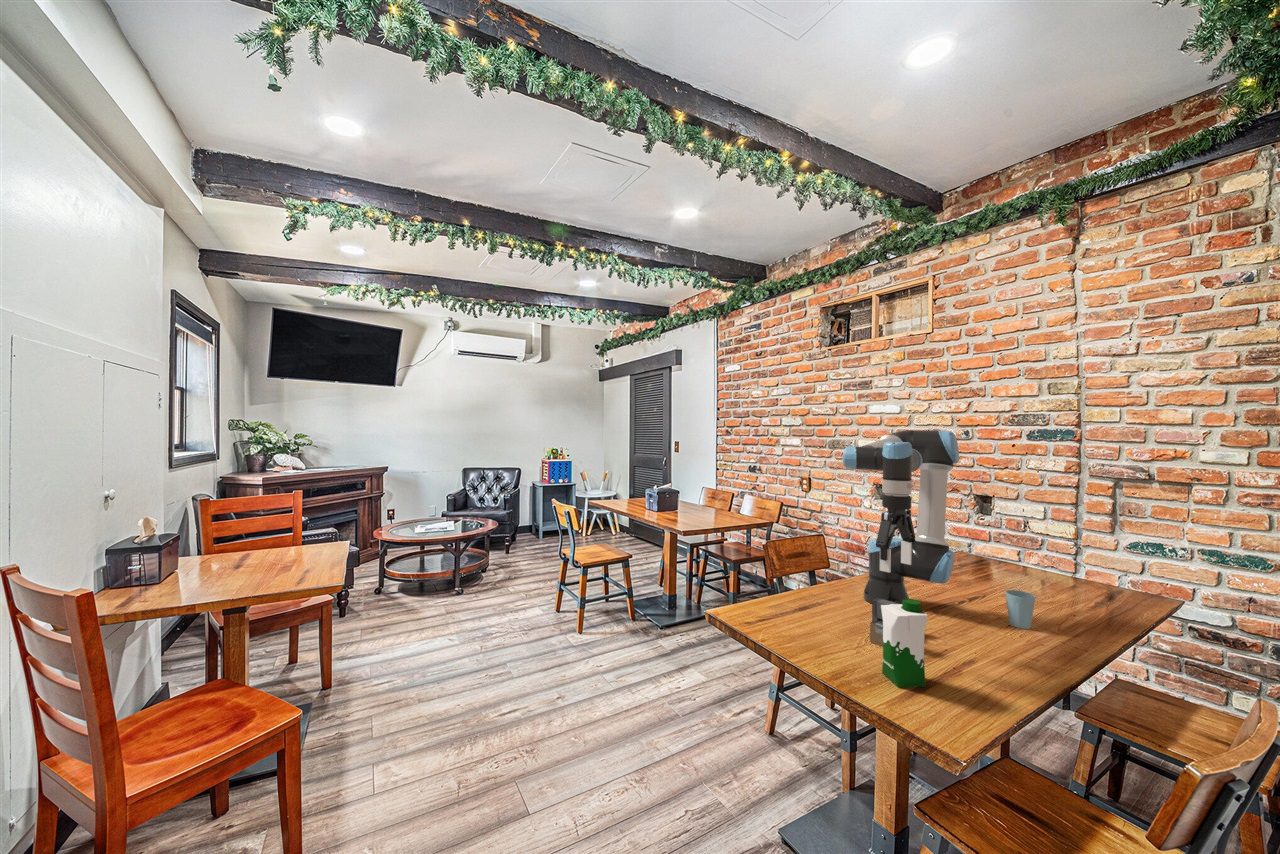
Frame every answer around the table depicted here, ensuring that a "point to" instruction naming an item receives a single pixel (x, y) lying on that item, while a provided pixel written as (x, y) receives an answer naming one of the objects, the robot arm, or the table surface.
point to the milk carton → (904, 643)
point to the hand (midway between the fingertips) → (895, 567)
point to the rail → (876, 632)
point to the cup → (1020, 608)
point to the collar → (878, 608)
